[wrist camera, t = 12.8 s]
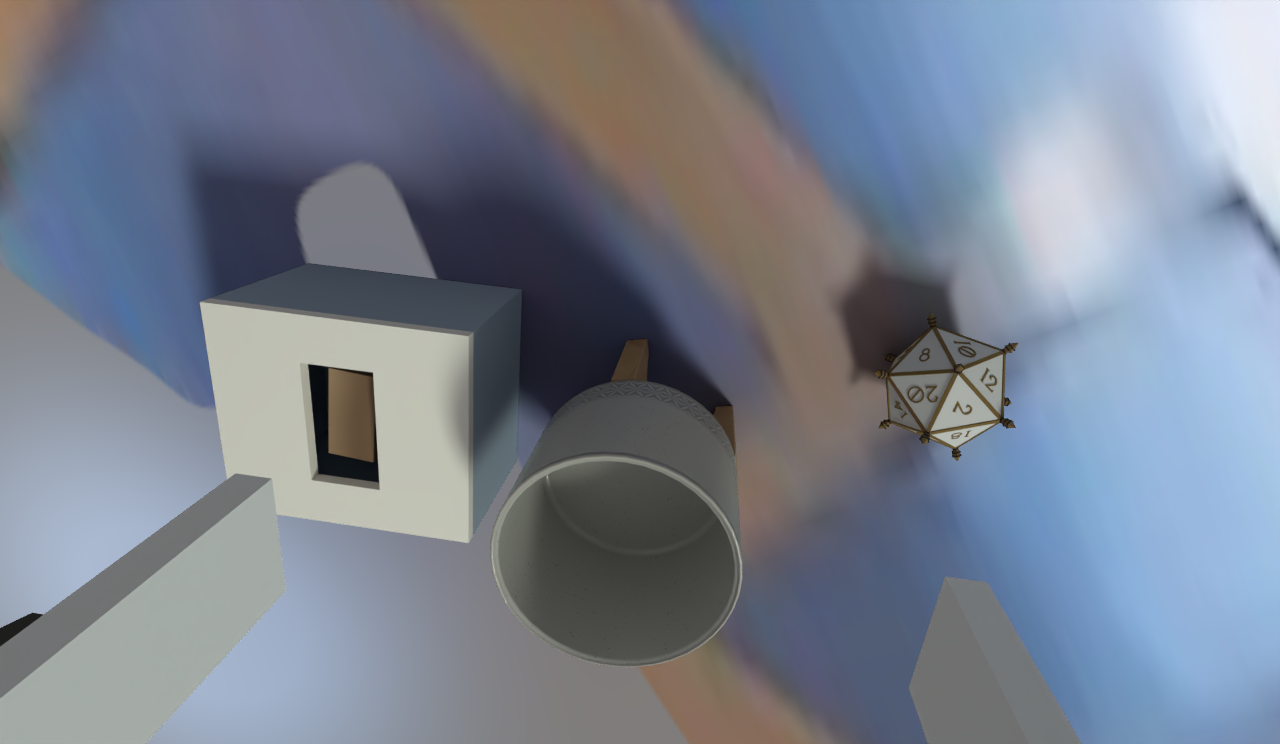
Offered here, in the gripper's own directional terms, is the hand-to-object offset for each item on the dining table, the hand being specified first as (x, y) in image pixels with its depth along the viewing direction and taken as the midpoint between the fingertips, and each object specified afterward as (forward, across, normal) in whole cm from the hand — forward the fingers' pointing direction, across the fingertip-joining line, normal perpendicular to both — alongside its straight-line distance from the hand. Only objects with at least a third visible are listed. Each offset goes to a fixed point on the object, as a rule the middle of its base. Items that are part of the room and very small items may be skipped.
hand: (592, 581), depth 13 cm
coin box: (+35, -19, -11) cm, 41 cm away
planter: (+35, -1, -13) cm, 37 cm away
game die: (+35, +18, -6) cm, 40 cm away
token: (+34, -19, -11) cm, 41 cm away
